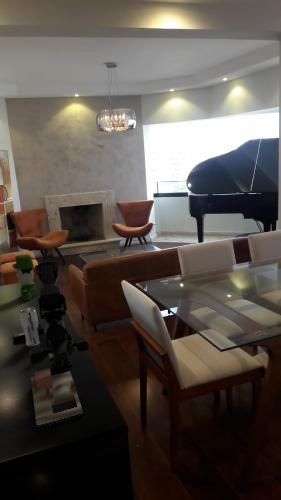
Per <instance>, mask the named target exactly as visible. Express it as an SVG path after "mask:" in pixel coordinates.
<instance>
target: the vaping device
mask: <svg viewBox="0 0 281 500" xmlns="http://www.w3.org/2000/svg"><path fill="white" fill-rule="evenodd" d="M37 330H38V336H39V342H40V344H39V345H40V346H41V349H42V350H44V349H48V348H47V342H46V338H47V337H46V330H45V329H44V326H43V325H42V324H39V323H38V327H37ZM40 346H39V347H40Z"/></svg>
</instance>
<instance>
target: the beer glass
mask: <svg viewBox="0 0 281 500" xmlns="http://www.w3.org/2000/svg"><path fill="white" fill-rule="evenodd" d="M19 319H20V324H21V328H22V330H23V333H24V336H25V346H26V347H30V348H31V347H37V346H38V345H40V342H39V336H38V330H37V327H38V325H39V317H38V313H37V310H36V307H33V306H30V307H26V308H23V309H21V310H19Z"/></svg>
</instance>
